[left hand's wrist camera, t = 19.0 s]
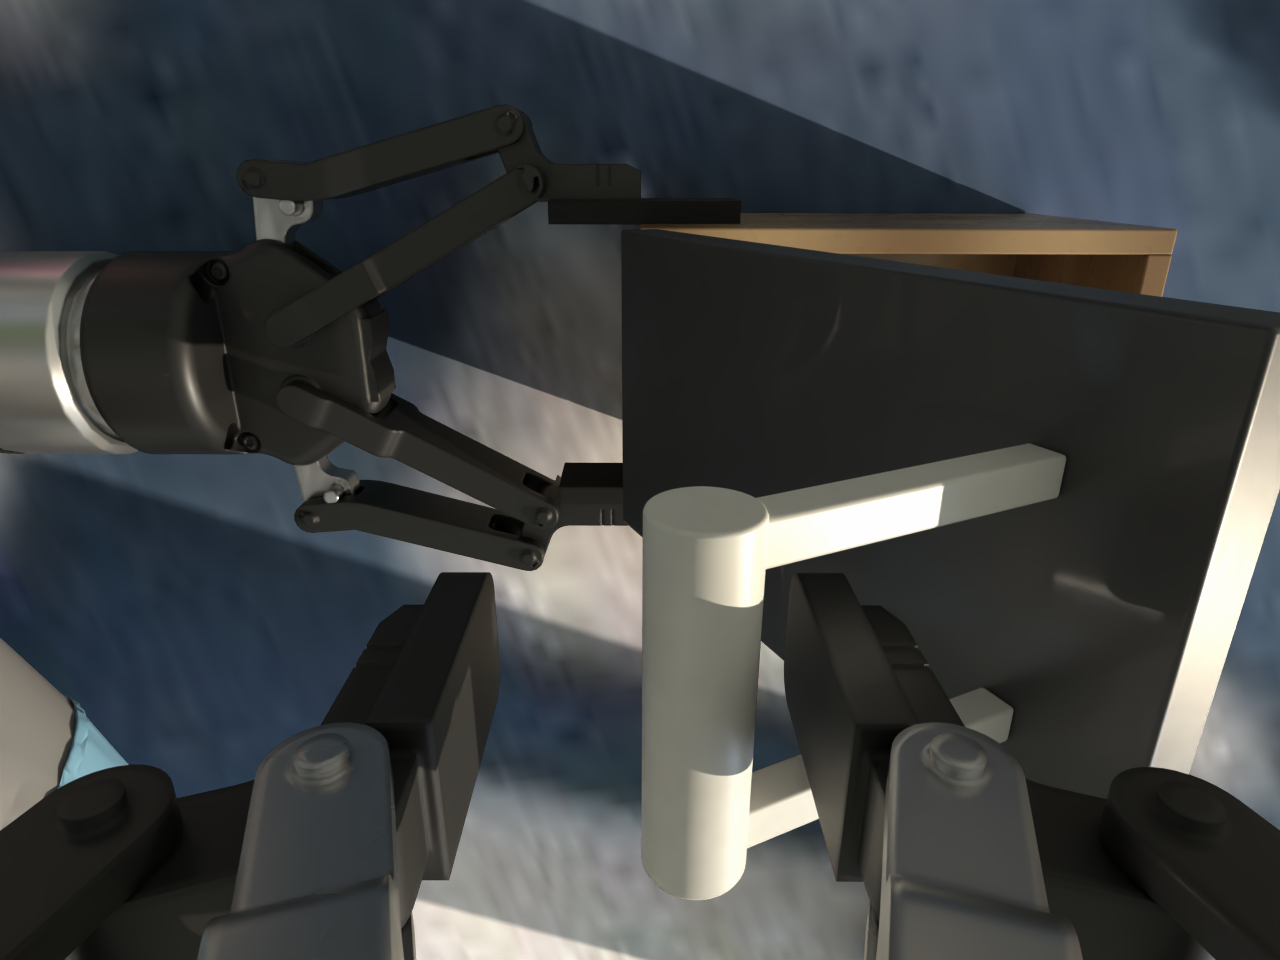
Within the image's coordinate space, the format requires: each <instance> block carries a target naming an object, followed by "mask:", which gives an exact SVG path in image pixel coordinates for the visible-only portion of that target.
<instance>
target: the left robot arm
mask: <svg viewBox="0 0 1280 960" xmlns="http://www.w3.org/2000/svg"><path fill="white" fill-rule="evenodd" d="M356 664H357V665H356V668H353V670H352V672H351V673H350V675H349V677H348V679H347V680H346V682H345V684H344V686H343V687H342V689H341V691H340V693H339V694H338V696H337V698H336V700H335V701H334V703H333V705H332V707H331V708H330V710H329V712H328V713H327V715H326V717H325V719H324V720H323V722H322V724H321V726H317V727H313V728H310V729H307V730H304V731H302V732H300V733H298V734H295V735H293V736H292V737H290V738H288V739H286V740H285V741H283V742H282V743H280V744H279V745H278V746H276V747H275V748H274V749H273V750H272V751H271V752H270V753H268V754H267V756H266V757H265V758H264V759H263V761H262V762H261V764H260V765H259V767H258V769H257V772H256V775H255V779H254V780H252V781H249V782H246V783H242V784H238V785H235V786H230V787H226V788H222V789H217V790H213V791H208V792H204V793H199V794H195V795H190V796H186V797H181V798H176V794H175V790H174V787H173V783H172V781H171V778H170V777H169V776H168V775H167V773H165V772H164V771H162V770H161V769H159V768H156V767H153V766H147V765H123V766H116V767H111V768H106V769H103V770H100V771H96V772H93V773H90V774H88V775H85V776H82V777H80V778H78V779H76V780H73V781H71V782H69V783H67V784H65V785H64V786H62V787H60V788H58V789H57V790H55V791H53V792H52V793H50V794H49V795H47V796H46V797H45V798H43V799H42V800H40V801H39V802H38V803H36V804H35V805H34V806H32V807H31V808H30V809H28V810H27V811H26V812H24V813H23V814H22V815H20V816H19V817H18V818H16V819H15V820H14V821H12V822H11V823H10V824H8V825H7V826H6V827H4V828H3V829H2V830H0V960H416V947H415V931H414V922H413V915H412V910H413V907H414V904H415V900H416V897H417V894H418V891H419V887H420V884H421V881H422V880H449V878H450V874H451V871H452V867H453V863H454V860H455V856H456V852H457V848H458V845H459V841H460V837H461V834H462V830H463V826H464V822H465V819H466V815H467V811H468V808H469V804H470V800H471V796H472V793H473V789H474V785H475V782H476V778H477V774H478V770H479V767H480V763H481V759H482V756H483V752H484V748H485V744H486V741H487V737H488V733H489V730H490V726H491V722H492V718H493V715H494V711H495V707H496V703H497V699H498V692H499V681H500V658H499V645H498V632H497V619H496V606H495V593H494V583H493V578H492V575H491V573H489V572H442V573H440V574H439V576H438V578H437V580H436V582H435V584H434V586H433V588H432V590H431V592H430V594H429V596H428V598H427V600H426V602H425V604H424V605H403V606H402V607H400V608H399V609H398V610H396V611H395V612H394V613H392V614H391V615H390V616H388V617H387V618H386V619H385V620H383V621H382V622H381V623H379V625H378V627H377V628H376V630H375V632H374V634H373V635H372V637H371V639H370V640H369V642H368V644H367V649H364V651H363V653H362V654H361V656H360V658H359V660H358V661H357V663H356ZM928 665H929V664H928V662H927V660H926V659H925V657H924V655H923V654H922V652H921V650H918V645H917V643H916V642H915V640H914V638H913V636H912V635H911V633H910V631H909V630H908V628H907V626H906V625H905V624H904V623H903V622H902V621H900V620H899V619H898V618H896V617H895V616H894V615H892V614H891V613H890V612H888V611H887V610H886V609H884V608H883V607H882V606H880V605H860V603H859V601H858V599H857V597H856V596H855V594H854V592H853V590H852V588H851V586H850V584H849V582H848V580H847V578H846V576H845V575H844V574H843V573H794V574H793V576H792V579H791V584H790V593H789V606H788V619H787V632H786V644H785V657H784V683H785V693H786V700H787V704H788V708H789V712H790V715H791V719H792V723H793V726H794V730H795V733H796V737H797V741H798V744H799V748H800V752H801V755H802V759H803V762H804V766H805V770H806V773H807V777H808V781H809V784H810V788H811V791H812V795H813V799H814V802H815V806H816V809H817V813H818V817H819V820H820V824H821V828H822V831H823V835H824V838H825V842H826V846H827V849H828V853H829V857H830V860H831V864H832V867H833V871H834V875H835V878H836V881H864V883H865V886H866V890H867V893H868V896H869V899H870V901H869V908H868V915H867V922H866V931H865V946H864V960H1280V830H1278V829H1277V828H1276V827H1274V826H1273V825H1272V824H1270V823H1269V822H1268V821H1266V820H1265V819H1264V818H1262V817H1261V816H1260V815H1258V814H1257V813H1256V812H1254V811H1253V810H1252V809H1250V808H1249V807H1248V806H1246V805H1245V804H1244V803H1242V802H1241V801H1240V800H1238V799H1237V798H1235V797H1234V796H1232V795H1231V794H1229V793H1228V792H1226V791H1224V790H1222V789H1221V788H1219V787H1217V786H1215V785H1213V784H1211V783H1209V782H1207V781H1205V780H1202V779H1200V778H1197V777H1194V776H1192V775H1189V774H1186V773H1182V772H1179V771H1175V770H1170V769H1165V768H1157V767H1138V768H1131V769H1128V770H1125V771H1123V772H1121V773H1120V774H1118V775H1117V776H1116V777H1115V778H1114V779H1113V780H1112V783H1111V786H1110V789H1109V793H1108V796H1107V799H1104V798H1099V797H1095V796H1090V795H1086V794H1082V793H1077V792H1073V791H1068V790H1064V789H1059V788H1055V787H1051V786H1047V785H1043V784H1040V783H1037V782H1034V781H1031V780H1028V779H1026V778H1025V775H1024V772H1023V769H1022V767H1021V765H1020V764H1019V762H1018V761H1017V759H1016V758H1015V757H1014V756H1013V754H1012V753H1010V752H1009V751H1008V750H1007V749H1006V748H1005V747H1004V746H1002V745H1001V744H1000V743H998V742H997V741H995V740H994V739H992V738H990V737H988V736H987V735H985V734H982V733H980V732H978V731H976V730H973V729H970V728H967V727H965V725H964V724H963V722H962V720H961V719H960V717H959V715H958V713H957V712H956V710H955V708H954V707H953V705H952V703H951V701H950V700H949V698H948V696H947V695H946V693H945V691H944V690H943V688H942V686H941V684H940V683H939V681H938V679H937V678H936V676H935V674H934V672H933V671H932V669H929V666H928Z"/></svg>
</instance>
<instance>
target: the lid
mask: <svg viewBox="0 0 1280 960" xmlns="http://www.w3.org/2000/svg"><path fill="white" fill-rule="evenodd" d="M621 248H622V418H623V520H624V522H625V523H626V524H628V525H629V526H630V527H631V528H632V529H633V530H635V531H636V532H637V533H638V534H639V535H640V536H641V537H643V607H642V863H643V866H644V868H645V870H646V872H647V874H648V876H649V877H650V879H651V880H652V881H653V882H654V883H655V884H656V885H657V886H658V887H659V888H660V889H662V890H663V891H665V892H667V893H669V894H671V895H673V896H676V897H679V898H682V899H688V900H706V899H711V898H715V897H718V896H720V895H722V894H724V893H726V892H727V891H729V890H730V889H731V888H732V887H734V886H735V885H736V883H737V882H738V881H739V879H740V878H741V876H742V874H743V872H744V869H745V865H746V853H747V848H749V847H752V846H754V845H757V844H759V843H761V842H764V841H766V840H769V839H771V838H773V837H776V836H778V835H781V834H783V833H786V832H788V831H790V830H793V829H795V828H798V827H800V826H802V825H805V824H807V823H810V822H812V821H814V820H817V819H819V817H818V813H817V809H816V806H815V802H814V799H813V795H812V791H811V788H810V784H809V781H808V777H807V773H806V770H805V766H804V762H803V759H802V755H801V754H800V755H797V756H795V757H792V758H789V759H787V760H784V761H781V762H778V763H776V764H773V765H770V766H768V767H765V768H762V769H760V770H757V771H754V772H752V764H753V749H754V734H755V719H756V704H757V689H758V674H759V659H760V645H761V641H762V642H763V643H764V644H765V645H766V646H768V647H769V648H770V649H771V650H772V651H773V652H774V653H776V654H777V655H778V656H779V657H780V658H781V659H783V660H784V657H785V644H786V632H787V619H788V606H789V593H790V584H791V579H792V576H793V574H794V573H843V574H844V575H845V576H846V578H847V580H848V582H849V584H850V586H851V588H852V590H853V592H854V594H855V596H856V597H857V599H858V601H859V603H860V605H880V606H882V607H883V608H884V609H886V610H887V611H888V612H890V613H891V614H892V615H894V616H895V617H896V618H898V619H899V620H900V621H902V622H903V623H904V624H905V625H906V626H907V628H908V630H909V631H910V633H911V635H912V636H913V638H914V640H915V642H916V643H917V645H918V650H921V652H922V654H923V655H924V657H925V659H926V660H927V662H928V664H929V665H928V666H929V669H932V671H933V672H934V674H935V676H936V678H937V679H938V681H939V683H940V684H941V686H942V688H943V690H944V691H945V693H946V695H947V696H948V698H949V700H950V701H951V703H952V705H953V707H954V708H955V710H956V712H957V713H958V715H959V717H960V719H961V720H962V722H963V724H964V725H965V727H967V728H970V729H973V730H976V731H978V732H980V733H982V734H985V735H987V736H988V737H990V738H992V739H994V740H995V741H997V742H998V743H1000V744H1001V745H1002V746H1004V747H1005V748H1006V749H1007V750H1008V751H1009V752H1010V753H1012V754H1013V756H1014V757H1015V758H1016V759H1017V761H1018V762H1019V764H1020V765H1021V767H1022V769H1023V772H1024V775H1025V778H1026V779H1028V780H1031V781H1034V782H1037V783H1040V784H1043V785H1047V786H1051V787H1055V788H1059V789H1064V790H1068V791H1073V792H1077V793H1082V794H1086V795H1090V796H1095V797H1099V798H1104V799H1107V796H1108V793H1109V789H1110V786H1111V783H1112V780H1113V779H1114V778H1115V777H1116V776H1117V775H1118V774H1120V773H1121V772H1123V771H1125V770H1128V769H1131V768H1138V767H1157V768H1165V769H1170V770H1175V771H1179V772H1182V773H1186V774H1189V772H1190V769H1191V766H1192V763H1193V760H1194V756H1195V753H1196V750H1197V747H1198V744H1199V741H1200V738H1201V734H1202V731H1203V728H1204V725H1205V722H1206V719H1207V716H1208V712H1209V709H1210V706H1211V703H1212V700H1213V697H1214V694H1215V690H1216V687H1217V684H1218V681H1219V678H1220V675H1221V672H1222V668H1223V665H1224V662H1225V659H1226V656H1227V653H1228V650H1229V646H1230V643H1231V640H1232V637H1233V634H1234V631H1235V628H1236V624H1237V621H1238V618H1239V615H1240V612H1241V609H1242V606H1243V602H1244V599H1245V596H1246V593H1247V590H1248V587H1249V584H1250V580H1251V577H1252V574H1253V571H1254V568H1255V565H1256V562H1257V558H1258V555H1259V552H1260V549H1261V546H1262V543H1263V540H1264V536H1265V533H1266V530H1267V527H1268V524H1269V521H1270V518H1271V514H1272V511H1273V508H1274V505H1275V502H1276V499H1277V496H1278V492H1279V489H1280V313H1278V312H1271V311H1263V310H1256V309H1248V308H1241V307H1233V306H1226V305H1219V304H1211V303H1204V302H1196V301H1189V300H1181V299H1174V298H1166V297H1159V296H1151V295H1144V294H1137V293H1129V292H1122V291H1114V290H1107V289H1099V288H1092V287H1084V286H1077V285H1070V284H1062V283H1055V282H1047V281H1040V280H1032V279H1025V278H1017V277H1010V276H1003V275H995V274H988V273H980V272H973V271H965V270H958V269H950V268H943V267H935V266H928V265H921V264H913V263H906V262H898V261H891V260H883V259H876V258H868V257H861V256H854V255H846V254H839V253H831V252H824V251H816V250H809V249H801V248H794V247H787V246H779V245H772V244H764V243H757V242H749V241H742V240H734V239H727V238H720V237H712V236H705V235H697V234H690V233H682V232H675V231H667V230H660V229H643V230H623V231H622V233H621Z"/></svg>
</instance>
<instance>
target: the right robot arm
mask: <svg viewBox="0 0 1280 960" xmlns="http://www.w3.org/2000/svg"><path fill="white" fill-rule="evenodd" d="M496 153H499V154H500V156H501V159H502V161H503V164H504V167H505V169H506V172H507V173H506V174H505V175H503V176H501V177H500V178H498V179H496V180H495V181H493V182H491V183H490V184H488V185H487V186H485V187H483V188H482V189H480V190H478V191H477V192H475V193H473V194H472V195H470V196H469V197H467V198H465V199H464V200H462V201H460V202H459V203H457V204H455V205H454V206H452V207H451V208H449V209H447V210H446V211H444V212H442V213H441V214H439V215H437V216H436V217H434V218H432V219H431V220H429V221H428V222H426V223H424V224H423V225H421V226H419V227H418V228H416V229H414V230H413V231H411V232H410V233H408V234H406V235H405V236H403V237H401V238H400V239H398V240H396V241H395V242H393V243H392V244H390V245H388V246H387V247H385V248H383V249H382V250H380V251H378V252H377V253H375V254H374V255H372V256H370V257H368V258H367V259H365V260H363V261H361V262H359V263H357V264H355V265H353V266H352V267H350V268H348V269H347V270H345V271H343V272H341V271H340V270H338V269H337V268H335V267H334V266H332V265H331V264H330V263H328V262H327V261H325V260H324V259H322V258H321V257H319V256H318V255H316V254H315V253H313V252H312V251H310V250H309V249H307V248H306V247H304V246H303V245H302V244H300V243H298V242H297V241H295V233H296V231H297V229H298V228H299V226H300V225H302V224H304V223H308V222H313V221H315V220H317V219H318V218H319V217H320V215H321V213H322V208H323V204H322V200H327V199H337V198H345V197H349V196H354V195H357V194H361V193H364V192H368V191H371V190H374V189H378V188H381V187H384V186H388V185H391V184H395V183H398V182H401V181H405V180H408V179H411V178H415V177H418V176H422V175H425V174H428V173H432V172H435V171H438V170H442V169H445V168H449V167H452V166H455V165H459V164H462V163H465V162H469V161H472V160H476V159H479V158H482V157H486V156H489V155H492V154H496ZM237 181H238V184H239V186H240V187H241V189H242V190H243V191H244V192H245V193H246V194H248V195H249V196H252V197H253V203H254V215H255V226H256V238H257V240H256V241H254V242H252V243H250V244H248V245H247V246H245V247H244V248H242V249H240V250H238V251H134V252H127V253H123V254H121V255H116V254H113V253H110V252H107V251H0V453H14V454H23V453H48V454H131V453H134V452H137V451H141V452H144V453H149V454H249V453H262V454H267V455H270V456H273V457H276V458H278V459H280V460H282V461H284V462H286V463H289V464H292V465H294V468H295V471H296V475H297V479H298V483H299V487H300V491H301V495H302V499H303V504H302V505H301V506H300V507H299V508H298V509H297V510H296V512H295V514H294V517H295V522H296V524H297V526H298V527H300V528H301V529H302V530H304V531H306V532H311V533H316V532H330V531H343V530H359V531H363V532H367V533H371V534H375V535H380V536H384V537H388V538H392V539H396V540H400V541H405V542H409V543H413V544H417V545H421V546H425V547H430V548H434V549H438V550H442V551H446V552H450V553H455V554H459V555H463V556H467V557H471V558H475V559H479V560H484V561H488V562H492V563H496V564H500V565H504V566H509V567H513V568H517V569H521V570H525V571H532V570H536V569H537V568H539V567H540V566H541V564H542V562H543V560H544V556H545V553H546V550H547V548H548V545H549V542H550V539H551V537H552V535H553V533H554V532H555V531H556V530H557V529H559V528H560V527H563V526H568V525H618V526H628V524H626V523H625V522H624V520H623V463H565V464H564V468H563V472H562V476H561V477H560V476H558V475H557V477H556V481H554V480H552V479H550V478H548V477H546V476H544V475H542V474H540V473H538V472H536V471H534V470H532V469H530V468H528V467H526V466H525V465H523V464H521V463H519V462H517V461H515V460H513V459H511V458H509V457H507V456H505V455H503V454H501V453H499V452H497V451H495V450H493V449H491V448H489V447H487V446H485V445H483V444H481V443H479V442H477V441H475V440H473V439H471V438H469V437H467V436H465V435H463V434H461V433H459V432H457V431H455V430H453V429H451V428H449V427H447V426H445V425H443V424H441V423H439V422H437V421H435V420H434V419H432V418H430V417H428V416H426V415H424V414H422V413H421V412H419V410H418V409H417V407H416V406H415V405H413V404H412V403H410V402H408V401H406V400H404V399H402V398H400V397H398V396H396V395H394V394H392V393H391V392H392V391H393V390H394V389H395V388H396V386H395V378H394V369H393V367H392V364H391V361H390V359H389V356H388V354H387V351H386V346H387V339H388V333H389V324H388V316H387V309H381V306H380V304H379V302H378V301H377V298H378V297H380V296H382V295H383V294H385V293H387V292H388V291H390V290H392V289H393V288H395V287H397V286H398V285H400V284H402V283H403V282H405V281H406V280H408V279H409V278H411V277H413V276H414V275H416V274H418V273H419V272H421V271H423V270H424V269H426V268H428V267H430V266H431V265H433V264H435V263H436V262H438V261H440V260H441V259H443V258H445V257H446V256H448V255H450V254H451V253H453V252H455V251H456V250H458V249H460V248H461V247H463V246H465V245H466V244H468V243H470V242H471V241H473V240H475V239H476V238H478V237H480V236H481V235H483V234H485V233H486V232H488V231H490V230H491V229H493V228H495V227H496V226H498V225H500V224H501V223H503V222H505V221H506V220H508V219H510V218H511V217H513V216H515V215H516V214H518V213H520V212H521V211H523V210H525V209H526V208H528V207H530V206H532V205H533V204H535V203H537V202H538V201H547V202H548V216H549V224H740V216H741V201H739V200H736V199H694V198H641V170H639V169H636V168H634V167H632V166H629V165H627V164H556V163H553V162H551V161H549V160H548V159H547V158H546V157H545V156H544V155H543V154H542V152H541V150H540V148H539V145H538V143H537V140H536V137H535V135H534V132H533V129H532V123H531V121H530V119H529V117H528V116H527V115H526V114H525V113H524V112H522V111H520V110H518V109H516V108H514V107H511V106H509V105H498V106H495V107H491V108H488V109H485V110H481V111H478V112H475V113H472V114H468V115H465V116H462V117H458V118H455V119H452V120H448V121H445V122H442V123H438V124H435V125H432V126H429V127H425V128H422V129H419V130H415V131H412V132H409V133H405V134H402V135H399V136H395V137H392V138H389V139H385V140H382V141H379V142H376V143H372V144H369V145H366V146H362V147H359V148H356V149H352V150H349V151H346V152H342V153H339V154H336V155H333V156H329V157H326V158H323V159H319V160H316V161H313V162H309V163H306V162H295V161H284V160H246V161H244V162H243V163H241V164H240V166H239V168H238V170H237ZM344 441H346V442H348V443H350V444H352V445H354V446H356V447H358V448H360V449H362V450H364V451H367V452H369V453H371V454H373V455H375V456H378V457H390V458H394V459H396V460H398V461H400V462H402V463H404V464H406V465H408V466H410V467H412V468H414V469H416V470H418V471H420V472H422V473H424V474H426V475H428V476H431V477H433V478H435V479H437V480H439V481H441V482H443V483H445V484H447V485H449V486H451V487H453V488H455V489H457V490H459V491H461V492H463V493H465V494H467V495H469V496H471V497H473V498H475V499H477V500H479V501H481V502H483V503H485V504H487V505H490V506H492V507H494V508H496V509H493V508H489V507H485V506H481V505H477V504H473V503H469V502H465V501H461V500H457V499H453V498H449V497H445V496H441V495H437V494H433V493H429V492H425V491H421V490H416V489H412V488H408V487H404V486H400V485H396V484H392V483H388V482H382V481H375V480H359V479H358V475H357V473H356V472H355V471H353V470H348V469H342V468H338V467H336V466H334V465H333V464H332V463H331V462H330V461H329V459H328V457H327V454H328V453H330V452H331V451H332V450H333V449H335V448H336V447H337V446H339V445H340V444H341V443H343V442H344ZM497 509H498V510H497ZM123 765H129V764H128V763H127V762H126V761H125V760H124V759H123V758H122V757H121V756H120V755H119V753H118V752H117V751H116V750H115V749H114V748H113V747H112V745H111V744H110V743H109V742H108V741H107V740H106V739H105V737H104V736H103V735H102V734H101V733H100V732H99V731H98V730H97V728H96V727H95V726H94V725H93V724H92V723H91V722H90V720H89V719H88V718H87V717H86V714H85V711H84V710H83V709H82V708H81V707H80V704H79V702H77V701H75V700H73V699H71V698H70V697H68V696H67V695H64V696H63V695H62V694H61V693H60V692H59V691H58V690H57V689H56V688H55V687H54V686H52V685H51V684H50V683H49V682H48V681H47V680H46V679H45V678H44V677H43V676H41V675H40V674H39V673H38V672H37V671H36V670H35V669H34V668H33V667H32V666H31V665H29V664H28V663H27V662H26V661H25V660H24V659H23V658H22V657H21V656H20V655H19V654H17V653H16V652H15V651H14V650H13V649H12V648H11V647H10V646H9V645H8V644H6V643H5V642H4V641H3V640H2V639H1V638H0V830H2V829H3V828H4V827H6V826H7V825H8V824H10V823H11V822H12V821H14V820H15V819H16V818H18V817H19V816H20V815H22V814H23V813H24V812H26V811H27V810H28V809H30V808H31V807H32V806H34V805H35V804H36V803H38V802H39V801H40V800H42V799H43V798H45V797H46V796H47V795H49V794H50V793H52V792H53V791H55V790H57V789H58V788H60V787H62V786H64V785H65V784H67V783H69V782H71V781H73V780H76V779H78V778H80V777H82V776H85V775H88V774H90V773H93V772H96V771H100V770H103V769H106V768H111V767H116V766H123Z"/></svg>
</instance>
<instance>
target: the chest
mask: <svg viewBox="0 0 1280 960" xmlns="http://www.w3.org/2000/svg"><path fill="white" fill-rule="evenodd" d="M643 229H660V230H667V231H675V232H682V233H690V234H697V235H705V236H712V237H720V238H727V239H734V240H742V241H749V242H757V243H764V244H772V245H779V246H787V247H794V248H801V249H809V250H816V251H824V252H831V253H839V254H846V255H854V256H861V257H868V258H876V259H883V260H891V261H898V262H906V263H913V264H921V265H928V266H935V267H943V268H950V269H958V270H965V271H973V272H980V273H988V274H995V275H1003V276H1010V277H1017V278H1025V279H1032V280H1040V281H1047V282H1055V283H1062V284H1070V285H1077V286H1084V287H1092V288H1099V289H1107V290H1114V291H1122V292H1129V293H1137V294H1144V295H1151V296H1159V297H1162V295H1163V291H1164V286H1165V282H1166V278H1167V274H1168V270H1169V265H1170V261H1171V255H1170V254H1172V252H1173V248H1174V243H1175V239H1176V235H1177V230H1176V229H1169V228H1160V227H1151V226H1141V225H1132V224H1123V223H1114V222H1104V221H1095V220H1086V219H1076V218H1067V217H1058V216H1049V215H1040V214H914V213H741V216H740V224H640V227H639V230H643Z"/></svg>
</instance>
